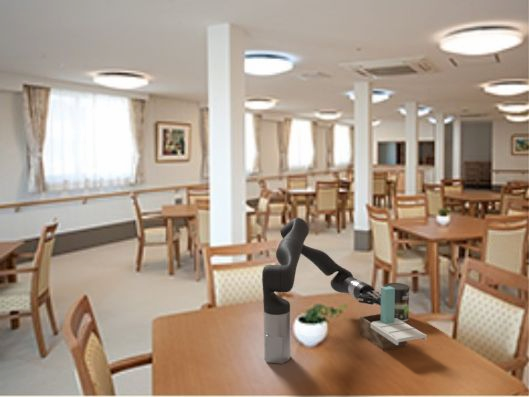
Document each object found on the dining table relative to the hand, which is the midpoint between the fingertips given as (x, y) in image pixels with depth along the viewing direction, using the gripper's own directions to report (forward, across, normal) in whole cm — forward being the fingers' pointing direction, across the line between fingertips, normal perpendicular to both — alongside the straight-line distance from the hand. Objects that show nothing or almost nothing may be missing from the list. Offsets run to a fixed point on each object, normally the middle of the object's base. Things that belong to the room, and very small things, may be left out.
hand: (385, 304), depth 173 cm
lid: (+8, 0, +8) cm, 11 cm away
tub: (-2, 0, +15) cm, 15 cm away
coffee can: (-19, +19, +15) cm, 31 cm away
